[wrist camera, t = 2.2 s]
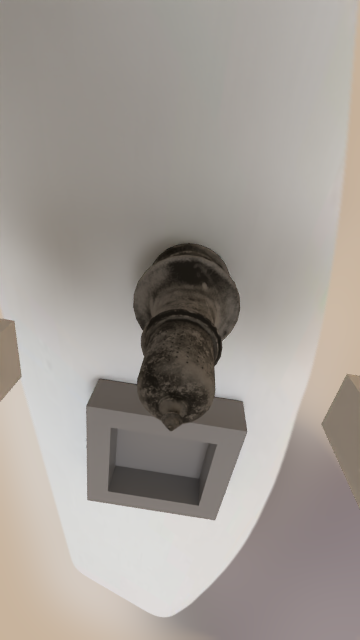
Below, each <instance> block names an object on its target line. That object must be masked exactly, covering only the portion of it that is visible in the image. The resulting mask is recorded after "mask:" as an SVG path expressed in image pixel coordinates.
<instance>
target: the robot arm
mask: <svg viewBox="0 0 360 640" xmlns="http://www.w3.org/2000/svg"><path fill="white" fill-rule="evenodd" d="M21 377H22V376H21V369H20V361H19V353H18V346H17V338H16V330H15V323H14V321H12V320H6V319H0V401H1V400H2V399H3V398H4V397H5V395H6V394H7V393H8V392H9V391H10V390H11V388H12V387H13V386H14V385H15V383H17V381H18V380H19V379H20V378H21ZM322 426H323V429H324V431H325V433H326V435H327V438H328V440H329V442H330V444H331V446H332V449H333V451H334V453H335V455H336V457H337V460H338V462H339V464H340V466H341V469H342V471H343V473H344V475H345V477H346V480H347V482H348V484H349V486H350V488H351V491H352V493H353V495H354V497H355V500H356V502H357V504H358V506H359V508H360V376H357V375H350V374H347V375H346V377H345V379H344V381H343V383H342V385H341V387H340V389H339V391H338V393H337V395H336V397H335V399H334V401H333V402H332V404H331V406H330V408H329V410H328V412H327V414H326V416H325V418H324V420H323V422H322Z"/></svg>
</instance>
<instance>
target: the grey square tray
mask: <svg viewBox="0 0 360 640" xmlns="http://www.w3.org/2000/svg"><path fill="white" fill-rule="evenodd" d="M86 415H87V500H90V501H96V502H103V503H109V504H115V505H122V506H128V507H134V508H141V509H147V510H153V511H160V512H166V513H172V514H179V515H185V516H192V517H198V518H204V519H211V520H215V519H216V516H217V514H218V511H219V508H220V505H221V503H222V500H223V497H224V494H225V492H226V489H227V486H228V483H229V481H230V478H231V475H232V472H233V470H234V467H235V464H236V461H237V459H238V456H239V453H240V450H241V448H242V445H243V442H244V439H245V437H246V434H247V427H246V420H245V413H244V407H243V402H242V401H236V400H229V399H223V398H217V397H214V399H213V403H212V405H211V407H210V408H209V410H208V411H207V412H206V413H205V414H204V415H203V416H201V417H200V418H199V419H197V420H195V421H193V422H190V423H186V424H181V426H179V427H177V429H175V430H173V431H169V430H168V429H167V428H166V427H165V425H164V424H163V423H162V421H161V420H159V419H157V418H155V417H153V416H152V415H151V414H150V413H149V412H148V411H147V410H146V409H145V408H144V406H143V405H142V403H141V402H140V400H139V396H138V393H137V385H135V384H129V383H123V382H117V381H110V380H104V379H99V380H98V383H97V385H96V387H95V389H94V391H93V393H92V395H91V397H90V399H89V402H88V404H87V406H86Z"/></svg>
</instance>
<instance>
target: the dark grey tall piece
mask: <svg viewBox="0 0 360 640" xmlns="http://www.w3.org/2000/svg"><path fill="white" fill-rule="evenodd" d="M133 308H134V312H135V316H136V319H137V321H138V323H139V325H140V327H141V328H142V330H143V333H142V336H141V348H142V351H143V355H144V359H143V363H142V366H141V369H140V373H139V376H138V381H137V393H138V396H139V400H140V402H141V403H142V405H143V406H144V408H145V409H146V410H147V411H148V412H149V413H150V414H151V415H152V416H153V417H155V418H157V419H159V420H161V421H162V423H163V424H164V425H165V427H166V428H167V429H168V430H169V431H173V430H175V429H177V427H179V426H181V424H186V423H190V422H193V421H195V420H197V419H199V418H200V417H201V416H203V415H204V414H205V413H206V412H207V411H208V410H209V408H210V407H211V405H212V403H213V399H214V394H215V372H214V366H215V365H216V364H217V362H218V360H219V359H220V357H221V352H222V341H223V340H224V339H225V338H226V337H227V335H228V334H229V333H230V332H231V331H232V329H233V328H234V326H235V324H236V322H237V320H238V316H239V312H240V298H239V293H238V291H237V288H236V285H235V282H234V281H233V280H232V278H231V277H230V276H229V272H228V270H227V267H226V264H225V263H224V262H223V260H222V259H221V258H220V256H219V255H217V254H216V253H215V252H213V251H212V250H211V249H209V248H206V247H204V246H202V245H197V244H190V243H188V244H180V245H176V246H174V247H171V248H169V249H167V250H166V251H165V252H163V253H162V254H161V255H159V257H158V258H157V259H156V261H155V262H154V263H153V266H152V267H150V268H149V269H148V270H147V271H146V272H145V273H144V275H143V276H142V277H141V279H140V280H139V281H138V284H137V287H136V290H135V293H134V303H133Z"/></svg>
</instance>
